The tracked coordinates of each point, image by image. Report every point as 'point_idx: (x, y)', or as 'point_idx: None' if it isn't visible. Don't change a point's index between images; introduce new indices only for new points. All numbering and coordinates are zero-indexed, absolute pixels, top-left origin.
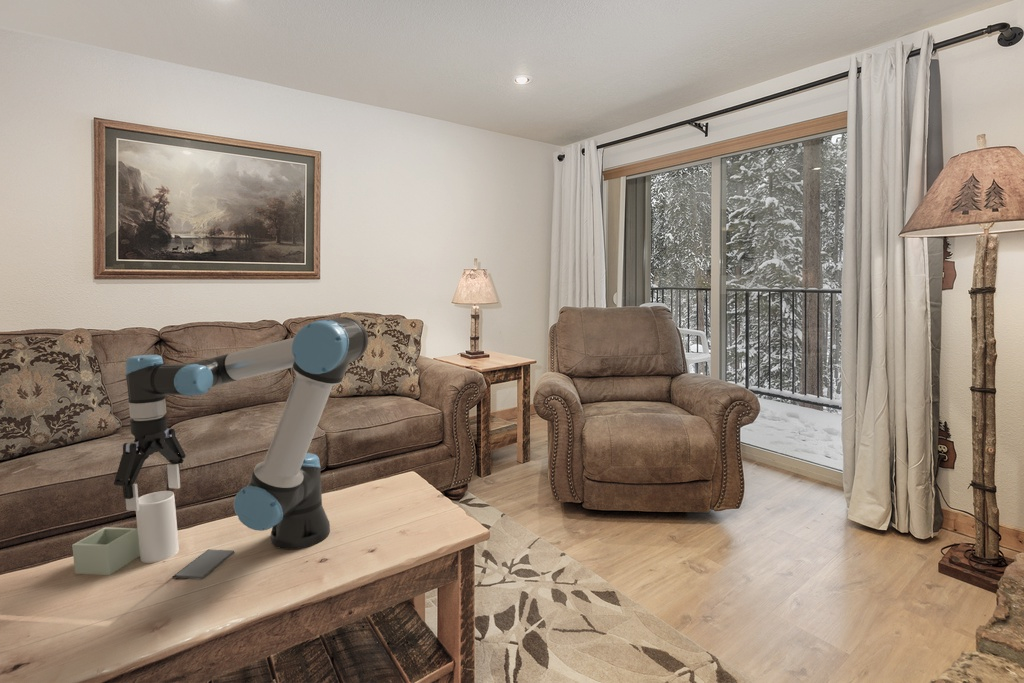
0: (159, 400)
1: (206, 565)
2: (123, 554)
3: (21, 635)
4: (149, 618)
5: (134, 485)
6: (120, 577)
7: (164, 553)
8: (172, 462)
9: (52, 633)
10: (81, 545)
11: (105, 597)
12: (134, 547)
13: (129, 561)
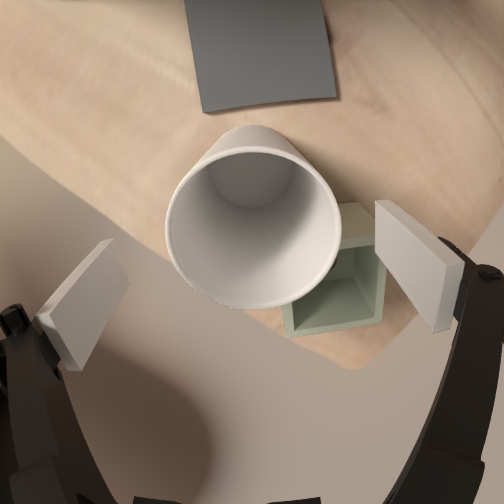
0: None
1: (269, 4)
2: None
3: (499, 191)
4: (446, 8)
5: (462, 261)
6: (352, 180)
7: (274, 131)
8: (52, 358)
9: (496, 146)
10: (383, 301)
11: (418, 143)
12: None
13: None
